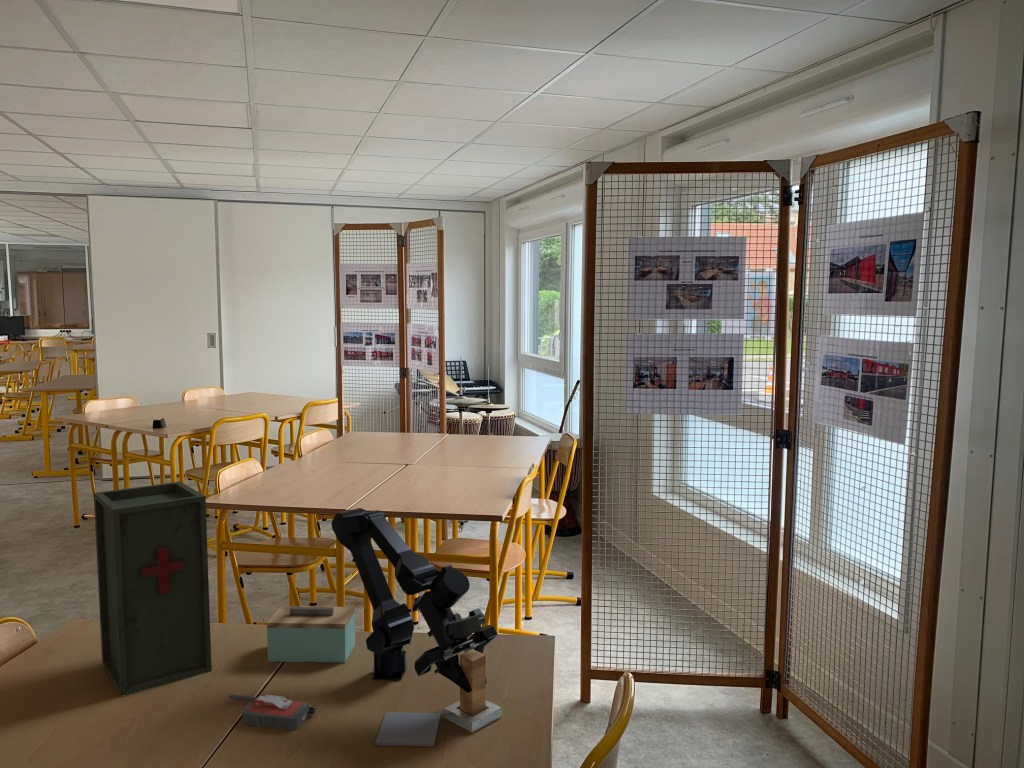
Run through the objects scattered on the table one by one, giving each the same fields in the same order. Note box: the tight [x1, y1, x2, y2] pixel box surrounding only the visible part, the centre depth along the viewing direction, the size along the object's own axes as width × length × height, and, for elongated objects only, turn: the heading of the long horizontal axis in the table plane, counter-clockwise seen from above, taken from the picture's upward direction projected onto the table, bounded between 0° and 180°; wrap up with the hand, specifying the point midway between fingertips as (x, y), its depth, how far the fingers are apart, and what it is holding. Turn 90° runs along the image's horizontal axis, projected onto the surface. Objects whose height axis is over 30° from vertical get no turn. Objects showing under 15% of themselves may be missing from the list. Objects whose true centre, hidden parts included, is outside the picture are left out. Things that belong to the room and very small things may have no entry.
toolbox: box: [266, 605, 356, 663], centre depth 183 cm, size 18×10×11 cm, turn 89°
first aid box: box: [93, 481, 213, 697], centre depth 173 cm, size 18×18×40 cm
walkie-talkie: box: [228, 693, 317, 732], centre depth 155 cm, size 9×4×20 cm
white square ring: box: [443, 699, 502, 734], centre depth 154 cm, size 8×8×2 cm
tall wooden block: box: [459, 649, 487, 717], centre depth 154 cm, size 4×4×13 cm
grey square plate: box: [374, 711, 441, 747], centre depth 150 cm, size 11×11×1 cm
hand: (477, 688), depth 153 cm, fingers open, 4 cm apart
